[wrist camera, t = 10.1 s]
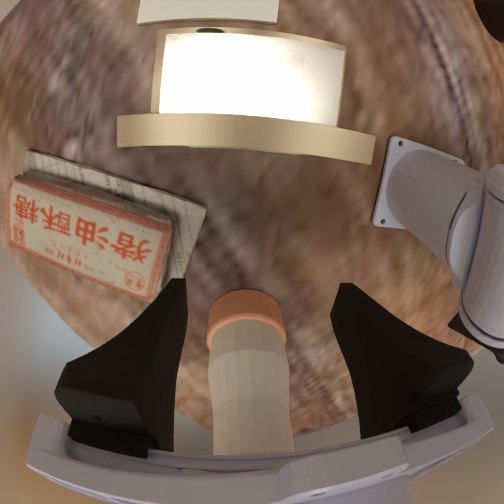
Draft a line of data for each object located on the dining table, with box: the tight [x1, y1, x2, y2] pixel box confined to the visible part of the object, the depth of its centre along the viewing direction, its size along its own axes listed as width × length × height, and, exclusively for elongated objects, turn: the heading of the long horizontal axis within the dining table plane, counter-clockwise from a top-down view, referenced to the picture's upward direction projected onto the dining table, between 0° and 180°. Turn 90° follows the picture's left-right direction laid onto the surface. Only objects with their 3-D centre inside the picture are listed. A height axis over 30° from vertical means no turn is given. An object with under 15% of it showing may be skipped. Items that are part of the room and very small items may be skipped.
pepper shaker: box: [207, 289, 295, 455], centre depth 18 cm, size 7×7×19 cm
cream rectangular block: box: [159, 28, 345, 127], centre depth 13 cm, size 9×5×5 cm, turn 85°
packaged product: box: [4, 149, 207, 303], centre depth 19 cm, size 18×5×10 cm
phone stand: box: [448, 312, 504, 364], centre depth 25 cm, size 9×6×12 cm, turn 152°
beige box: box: [117, 27, 376, 165], centre depth 13 cm, size 13×8×7 cm, turn 85°
